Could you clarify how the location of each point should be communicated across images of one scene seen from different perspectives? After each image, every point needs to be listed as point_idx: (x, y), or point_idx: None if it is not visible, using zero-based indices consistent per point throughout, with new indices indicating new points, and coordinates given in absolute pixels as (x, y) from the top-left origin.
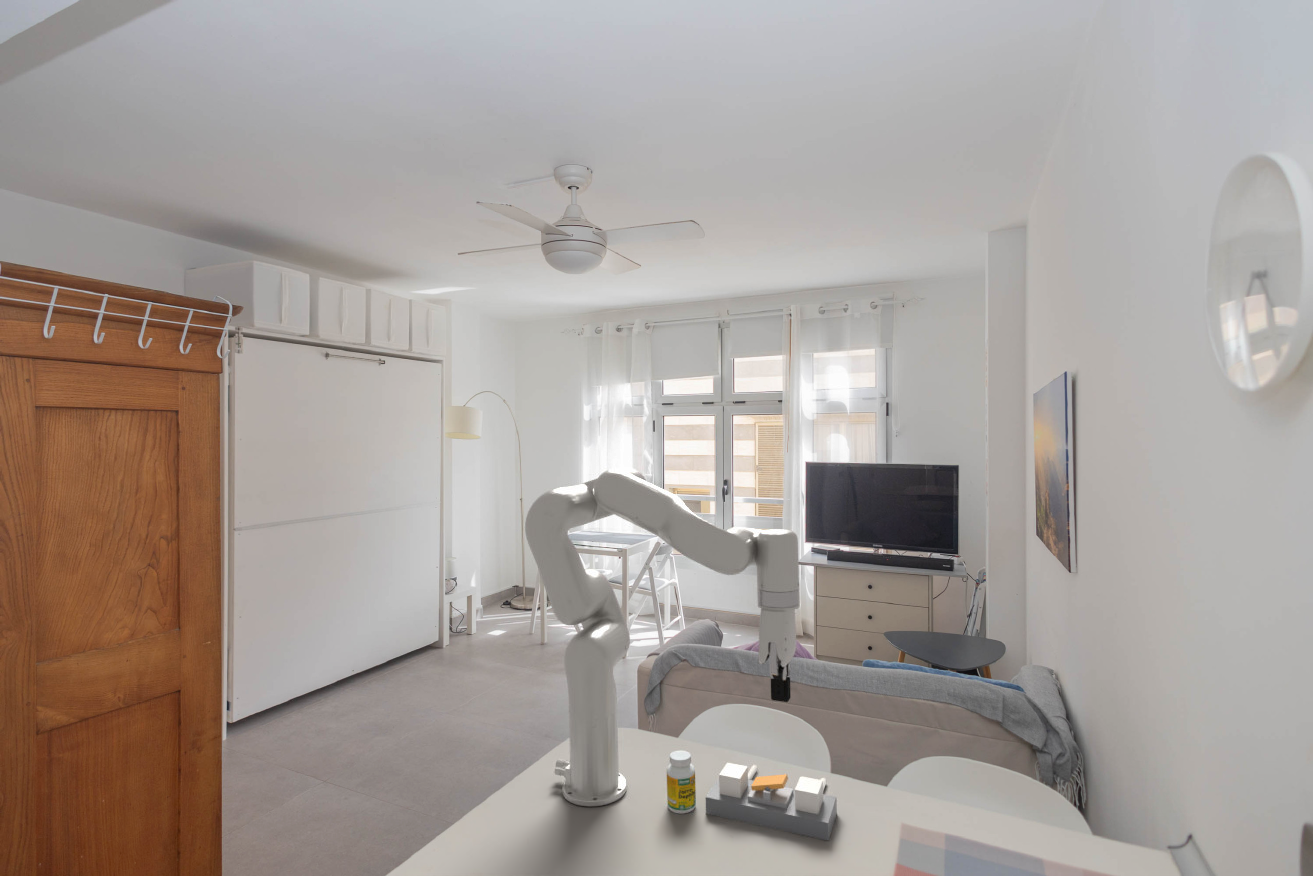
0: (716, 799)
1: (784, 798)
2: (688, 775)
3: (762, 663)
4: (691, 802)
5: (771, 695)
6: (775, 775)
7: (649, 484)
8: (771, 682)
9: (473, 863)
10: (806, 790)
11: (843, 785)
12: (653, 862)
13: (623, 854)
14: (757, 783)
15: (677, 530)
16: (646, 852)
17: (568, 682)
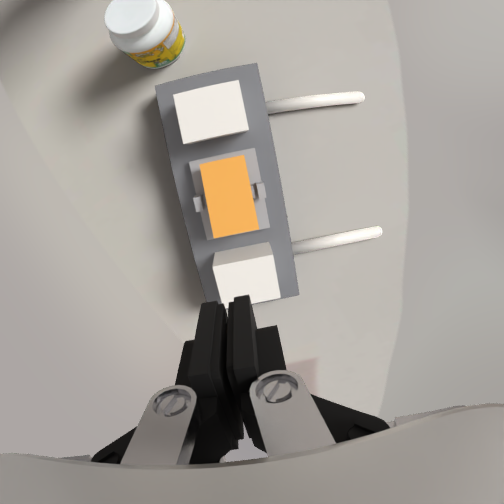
0: (159, 107)
1: None
2: (124, 50)
3: (41, 457)
4: (147, 65)
5: (201, 312)
6: (252, 201)
7: None
8: (193, 359)
9: None
10: (223, 287)
11: (384, 259)
12: (25, 117)
13: (21, 75)
14: (212, 174)
15: None
16: (35, 93)
17: None
